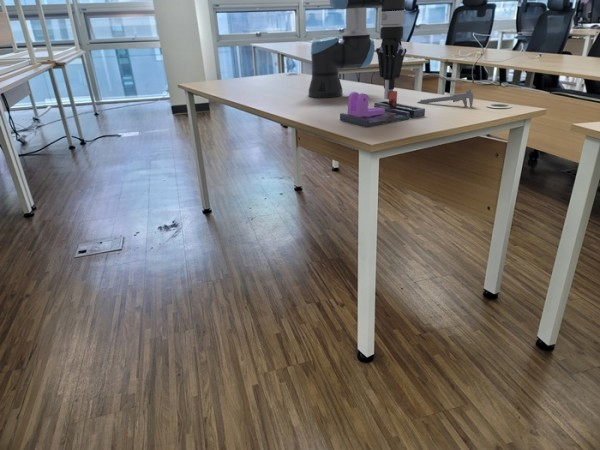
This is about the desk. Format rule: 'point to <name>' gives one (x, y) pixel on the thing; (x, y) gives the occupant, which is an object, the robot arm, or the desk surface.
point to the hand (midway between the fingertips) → (388, 98)
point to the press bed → (376, 117)
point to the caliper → (452, 98)
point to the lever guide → (413, 110)
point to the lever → (393, 98)
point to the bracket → (361, 106)
